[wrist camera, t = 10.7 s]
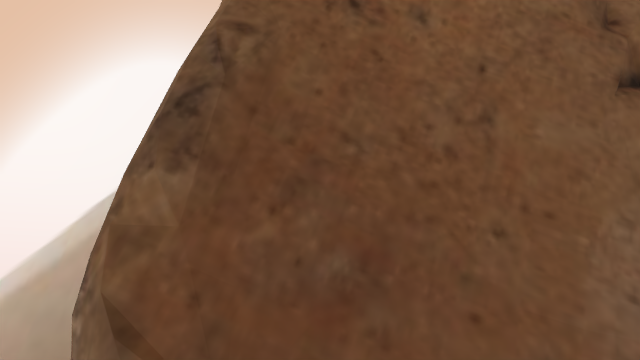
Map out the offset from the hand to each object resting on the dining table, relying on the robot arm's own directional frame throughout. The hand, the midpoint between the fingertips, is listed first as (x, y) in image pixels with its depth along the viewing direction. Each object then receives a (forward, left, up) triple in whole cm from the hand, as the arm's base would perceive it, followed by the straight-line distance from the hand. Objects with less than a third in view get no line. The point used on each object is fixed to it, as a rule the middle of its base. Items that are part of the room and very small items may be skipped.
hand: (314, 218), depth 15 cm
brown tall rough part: (+1, -3, -9) cm, 10 cm away
